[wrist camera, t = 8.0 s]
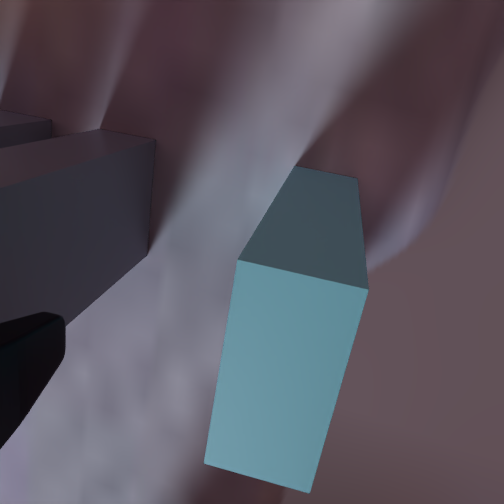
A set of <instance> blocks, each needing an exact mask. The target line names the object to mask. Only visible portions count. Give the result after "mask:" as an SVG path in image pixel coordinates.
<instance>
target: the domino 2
mask: <svg viewBox="0 0 504 504" xmlns="http://www.w3.org/2000/svg"><path fill="white" fill-rule="evenodd" d="M368 291H369V287H368V277H367V267H366V258H365V248H364V238H363V228H362V218H361V208H360V199H359V189H358V179H357V178H353V177H348V176H343V175H338V174H333V173H328V172H323V171H318V170H313V169H308V168H303V167H298V166H294V168H293V169H292V171H291V173H290V174H289V176H288V178H287V179H286V181H285V182H284V184H283V186H282V187H281V189H280V191H279V192H278V194H277V196H276V197H275V199H274V201H273V202H272V204H271V205H270V207H269V209H268V210H267V212H266V214H265V215H264V217H263V219H262V220H261V222H260V224H259V225H258V227H257V228H256V230H255V232H254V233H253V235H252V237H251V238H250V240H249V242H248V243H247V245H246V247H245V248H244V250H243V251H242V253H241V255H240V256H239V258H238V260H237V266H236V272H235V278H234V284H233V290H232V296H231V302H230V308H229V314H228V320H227V326H226V332H225V338H224V344H223V350H222V356H221V362H220V368H219V374H218V380H217V386H216V392H215V398H214V404H213V410H212V416H211V422H210V428H209V434H208V440H207V446H206V452H205V458H204V464H207V465H211V466H214V467H218V468H221V469H225V470H228V471H232V472H235V473H239V474H242V475H246V476H249V477H253V478H256V479H260V480H263V481H267V482H270V483H274V484H277V485H281V486H284V487H288V488H292V489H295V490H299V491H302V492H305V493H309V494H310V491H311V487H312V484H313V480H314V476H315V474H316V470H317V467H318V463H319V460H320V456H321V452H322V449H323V446H324V442H325V439H326V435H327V432H328V429H329V425H330V422H331V418H332V415H333V411H334V408H335V404H336V401H337V398H338V394H339V391H340V387H341V384H342V380H343V377H344V373H345V369H346V367H347V363H348V360H349V356H350V353H351V349H352V346H353V342H354V339H355V336H356V332H357V329H358V325H359V322H360V318H361V315H362V311H363V308H364V304H365V301H366V297H367V294H368Z"/></svg>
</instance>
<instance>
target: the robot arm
mask: <svg viewBox="0 0 504 504" xmlns="http://www.w3.org/2000/svg"><path fill="white" fill-rule="evenodd" d="M65 347H66V324H65V319H64V317H63V316H61V315H58V314H54V313H50V312H39V313H35V314H32V315H28V316H24V317H21V318H17V319H13V320H9V321H6V322H2V323H0V449H1V448H2V446H3V445H4V444H5V443H6V442H7V440H8V439H9V438H10V437H11V435H12V434H13V433H14V432H15V430H16V429H17V428H18V426H19V425H20V424H21V422H22V421H23V420H24V418H25V417H26V415H27V414H28V412H29V411H30V409H31V408H32V406H33V405H34V403H35V402H36V400H37V399H38V397H39V396H40V394H41V393H42V391H43V390H44V388H45V387H46V385H47V384H48V382H49V380H50V379H51V377H52V376H53V374H54V373H55V371H56V370H57V368H58V367H59V365H60V364H61V362H62V360H63V358H64V355H65Z"/></svg>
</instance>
